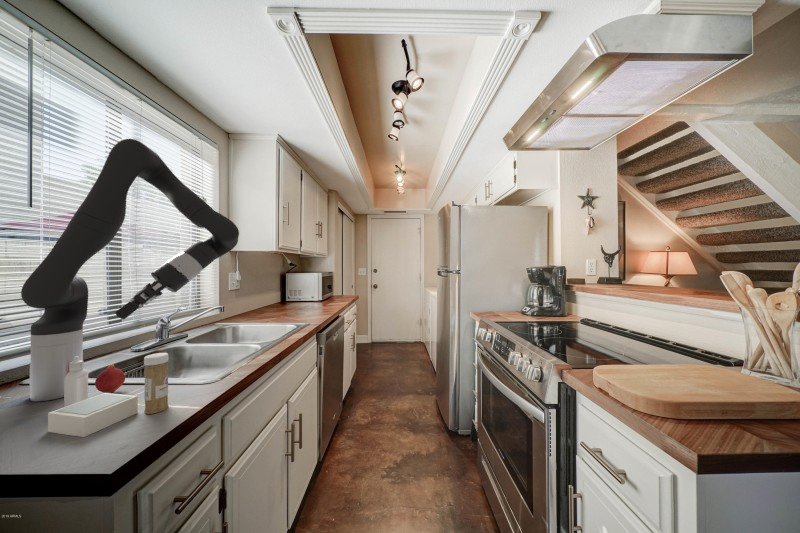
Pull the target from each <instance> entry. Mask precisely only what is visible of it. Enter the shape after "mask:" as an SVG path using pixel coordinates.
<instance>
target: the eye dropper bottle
mask: <svg viewBox="0 0 800 533" xmlns="http://www.w3.org/2000/svg"><path fill="white" fill-rule="evenodd" d="M84 367H85V366H84V359H83V360H80V359H79V356H75V357H74V360H73V361H72V362H70V363H69V371H70V372H69V373H68V374H67V375H66V376H65V379H64V397H63V398H64V400H63V407H66V406H69V405H72V404H75V403H78V402H80V401H83V400H86V399H89V371H88V369H85V368H84Z"/></svg>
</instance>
